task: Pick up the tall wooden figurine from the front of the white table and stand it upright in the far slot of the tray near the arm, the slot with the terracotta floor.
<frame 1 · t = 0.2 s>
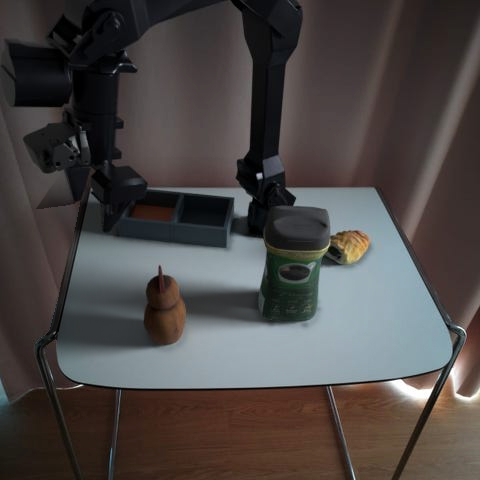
hand: (91, 215, 72), 15 cm above the table, tool pointing down, fingers open, 9 cm apart
tray: (178, 225, 96), on the table
pastry: (344, 252, 92), on the table
wooden figurine: (167, 336, 77), on the table
coffee jar: (286, 307, 82), on the table
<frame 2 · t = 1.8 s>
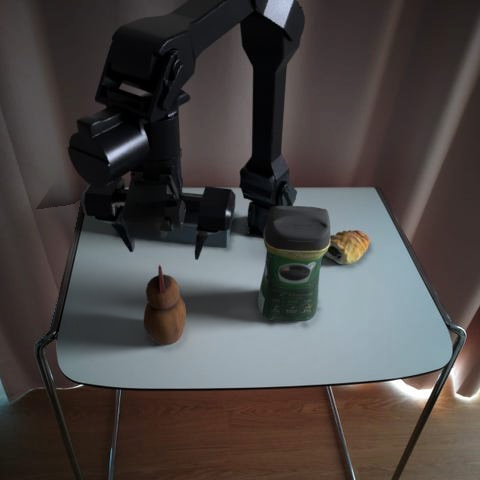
hand: (164, 254, 69), 13 cm above the table, tool pointing down, fingers open, 9 cm apart
nothing on the table moved.
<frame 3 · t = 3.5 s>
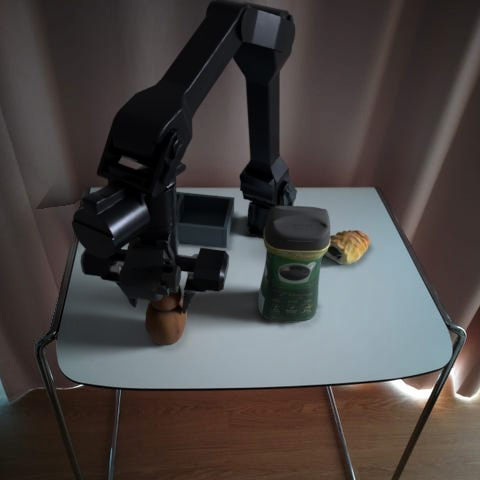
hand: (159, 308, 71), 7 cm above the table, tool pointing down, fingers closed on wooden figurine, 7 cm apart
wooden figurine: (167, 335, 77), on the table, touching gripper
everything else where it was.
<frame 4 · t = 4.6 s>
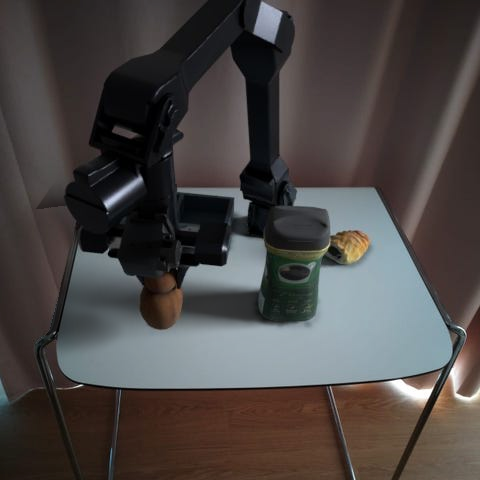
hand: (161, 285, 69), 10 cm above the table, tool pointing down, fingers closed on wooden figurine, 4 cm apart
wooden figurine: (162, 320, 74), point 3 cm above the table, touching gripper
everything else where it was.
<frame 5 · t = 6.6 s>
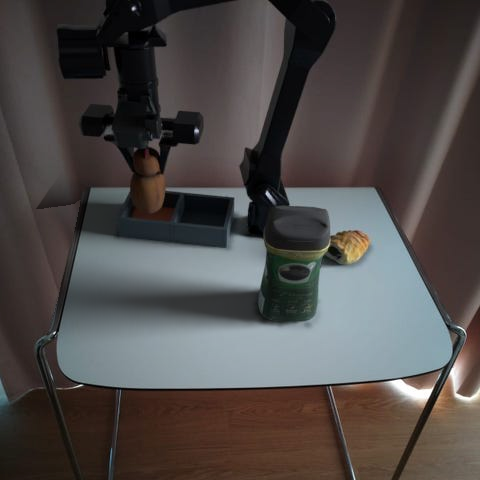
hand: (148, 172, 84), 13 cm above the table, tool pointing down, fingers closed on wooden figurine, 4 cm apart
wooden figurine: (149, 208, 90), point 6 cm above the table, touching gripper
everything else where it was.
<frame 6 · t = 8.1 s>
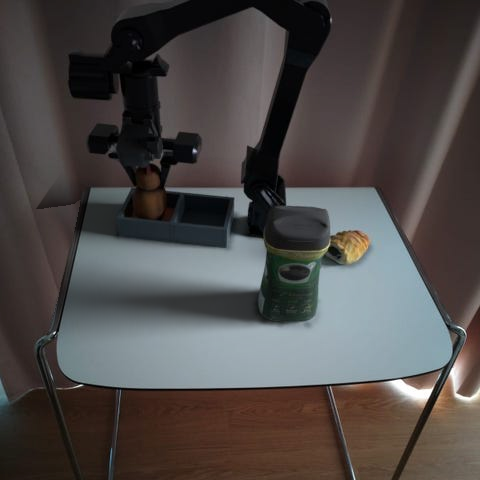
hand: (149, 186, 90), 8 cm above the table, tool pointing down, fingers closed on wooden figurine, 5 cm apart
wooden figurine: (151, 219, 96), point 1 cm above the table, touching gripper, tray
everything else where it was.
when the fingers open (8 cm above the table, at t = 8.5 s): wooden figurine stays where it is, point 1 cm above the table.
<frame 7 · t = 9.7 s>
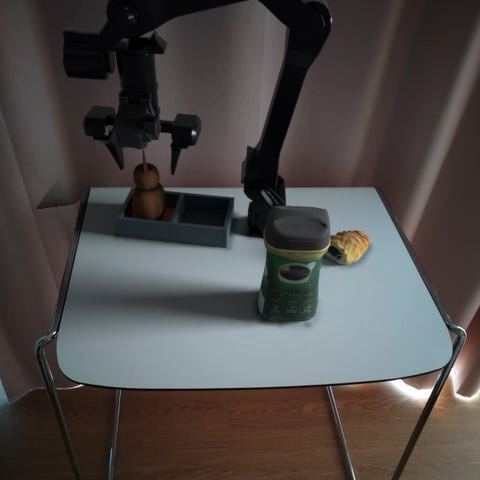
hand: (147, 171, 88), 11 cm above the table, tool pointing down, fingers open, 9 cm apart
wooden figurine: (151, 220, 96), point 1 cm above the table
everything else where it was.
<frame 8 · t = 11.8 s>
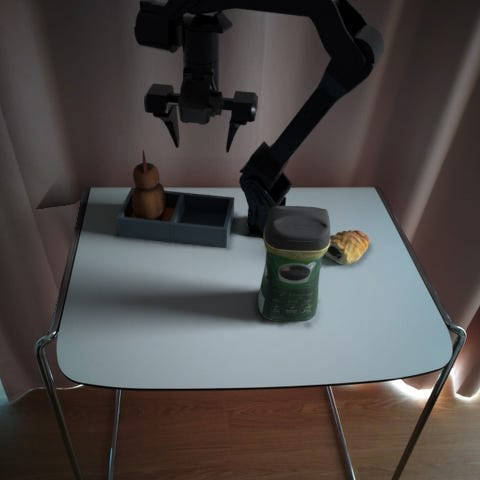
hand: (202, 149, 90), 13 cm above the table, tool pointing down, fingers open, 9 cm apart
wooden figurine: (151, 220, 96), point 1 cm above the table, touching tray
everything else where it was.
at the end: wooden figurine 0.4 cm from the target spot in the tray, point 0.5 cm above the tray's base; wooden figurine tilted 0°; the gripper is holding nothing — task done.
